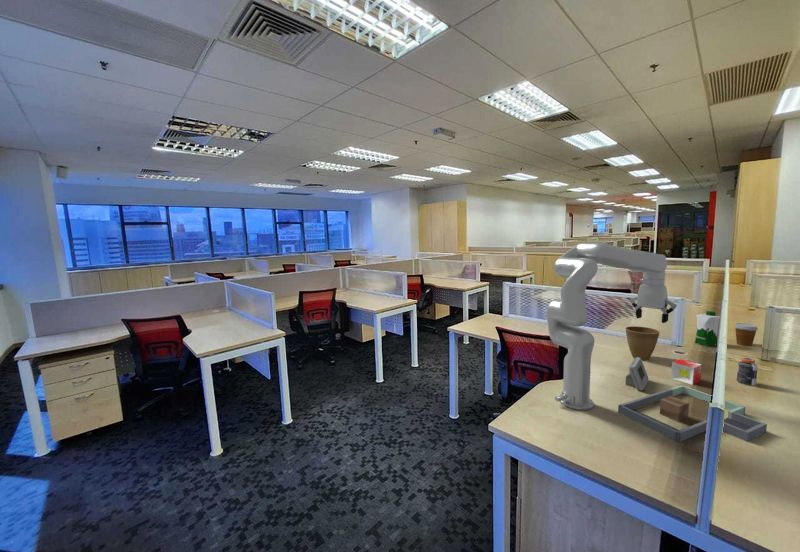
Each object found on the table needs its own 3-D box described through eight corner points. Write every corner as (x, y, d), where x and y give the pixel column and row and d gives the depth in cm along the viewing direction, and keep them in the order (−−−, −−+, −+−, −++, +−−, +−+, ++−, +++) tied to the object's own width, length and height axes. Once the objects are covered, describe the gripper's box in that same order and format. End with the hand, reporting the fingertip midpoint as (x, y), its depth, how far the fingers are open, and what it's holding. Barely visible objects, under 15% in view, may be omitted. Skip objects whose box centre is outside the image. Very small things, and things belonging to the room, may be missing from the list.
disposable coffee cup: (728, 343, 193) (730, 324, 191) (738, 341, 195) (740, 322, 194) (750, 348, 184) (751, 328, 182) (760, 345, 186) (762, 326, 185)
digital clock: (641, 393, 137) (642, 369, 136) (618, 385, 145) (619, 363, 143) (656, 382, 146) (657, 360, 145) (633, 376, 153) (634, 355, 152)
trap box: (711, 458, 96) (712, 449, 96) (618, 412, 123) (618, 405, 123) (777, 426, 111) (778, 418, 110) (681, 391, 137) (681, 384, 137)
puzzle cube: (671, 378, 150) (672, 362, 149) (679, 374, 153) (680, 359, 152) (692, 385, 143) (694, 368, 142) (700, 380, 146) (702, 364, 145)
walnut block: (678, 422, 115) (679, 406, 115) (659, 414, 121) (660, 399, 120) (688, 418, 118) (689, 403, 117) (669, 410, 123) (670, 395, 122)
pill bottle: (760, 386, 139) (762, 361, 138) (743, 385, 140) (746, 361, 139) (748, 380, 145) (750, 356, 144) (732, 379, 146) (734, 356, 145)
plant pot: (664, 363, 167) (666, 333, 165) (633, 362, 170) (634, 333, 168) (647, 353, 182) (648, 325, 180) (619, 352, 184) (620, 325, 182)
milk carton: (720, 345, 189) (722, 313, 187) (707, 347, 187) (710, 314, 185) (703, 341, 197) (705, 309, 195) (691, 342, 196) (693, 311, 194)
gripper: (627, 281, 145) (625, 317, 147) (673, 285, 130) (670, 325, 132) (635, 279, 149) (634, 315, 151) (681, 283, 134) (679, 323, 136)
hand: (651, 320), depth 141 cm, fingers open, 9 cm apart
